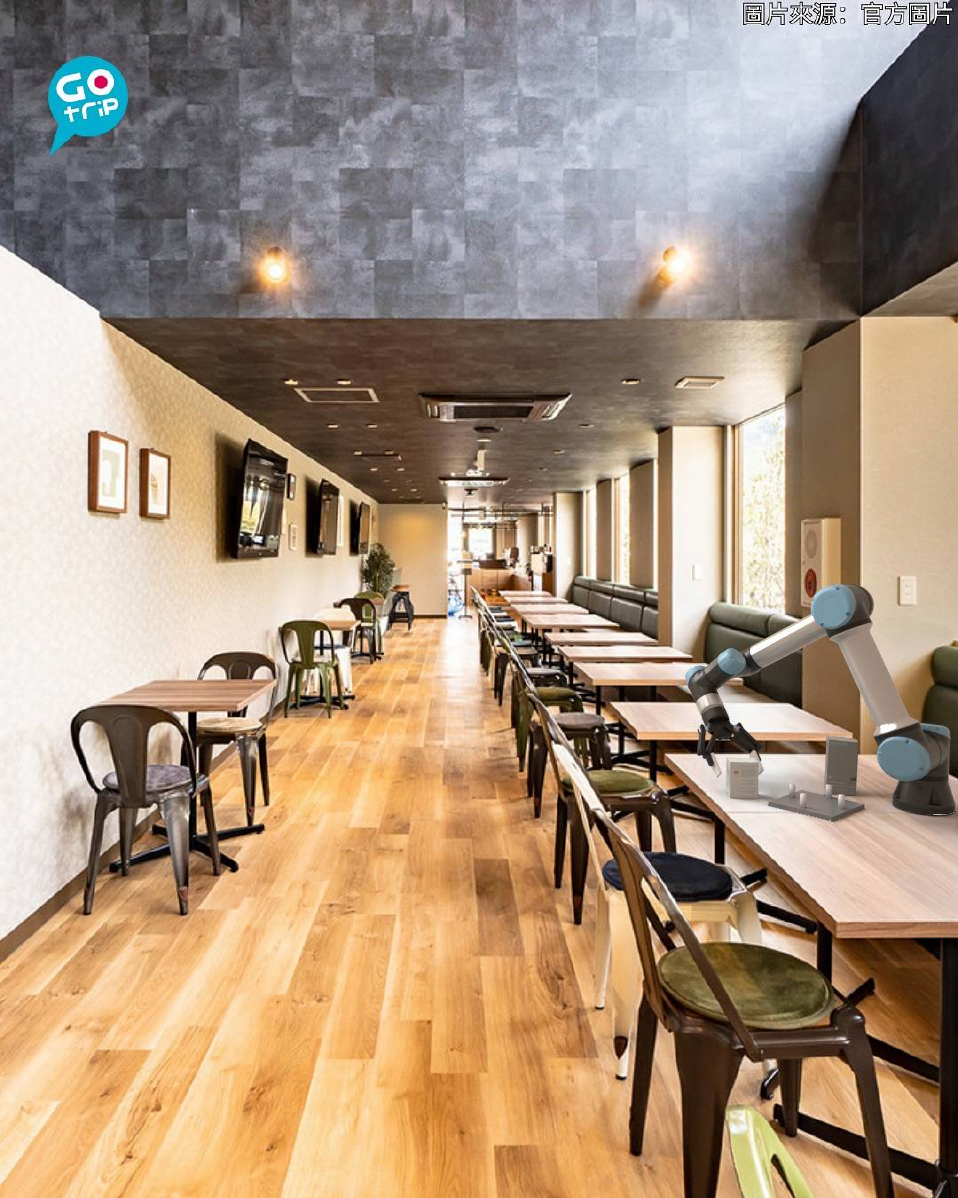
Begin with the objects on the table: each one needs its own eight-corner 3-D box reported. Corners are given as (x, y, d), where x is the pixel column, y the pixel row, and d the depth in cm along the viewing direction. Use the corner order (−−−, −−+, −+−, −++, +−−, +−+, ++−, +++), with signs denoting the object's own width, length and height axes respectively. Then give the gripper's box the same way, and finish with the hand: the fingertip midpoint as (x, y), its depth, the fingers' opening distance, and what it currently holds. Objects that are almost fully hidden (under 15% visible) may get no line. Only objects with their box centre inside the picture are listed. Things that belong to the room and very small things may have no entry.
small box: (753, 793, 239) (754, 757, 238) (758, 799, 233) (759, 762, 233) (725, 792, 240) (726, 756, 239) (729, 798, 234) (730, 761, 234)
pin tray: (801, 794, 239) (802, 777, 238) (864, 808, 225) (864, 790, 225) (768, 805, 227) (768, 788, 227) (832, 821, 213) (832, 803, 213)
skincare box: (826, 794, 239) (827, 739, 238) (823, 787, 246) (824, 734, 245) (858, 796, 237) (859, 741, 236) (854, 790, 243) (855, 736, 243)
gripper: (744, 717, 256) (772, 778, 243) (671, 721, 250) (696, 783, 236) (754, 703, 251) (784, 764, 237) (680, 706, 244) (706, 769, 231)
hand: (740, 774), depth 237 cm, fingers open, 13 cm apart
